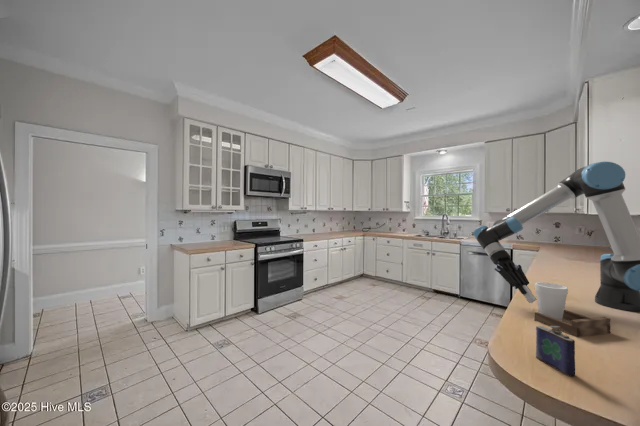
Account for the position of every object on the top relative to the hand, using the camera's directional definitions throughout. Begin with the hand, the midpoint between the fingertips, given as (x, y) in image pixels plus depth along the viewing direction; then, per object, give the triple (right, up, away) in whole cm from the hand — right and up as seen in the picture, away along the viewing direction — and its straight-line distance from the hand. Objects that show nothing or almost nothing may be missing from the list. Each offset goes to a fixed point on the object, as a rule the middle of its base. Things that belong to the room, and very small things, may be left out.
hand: (532, 301), depth 104 cm
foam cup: (+2, -5, -6) cm, 8 cm away
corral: (+3, -5, -11) cm, 13 cm away
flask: (-25, -5, -37) cm, 45 cm away
